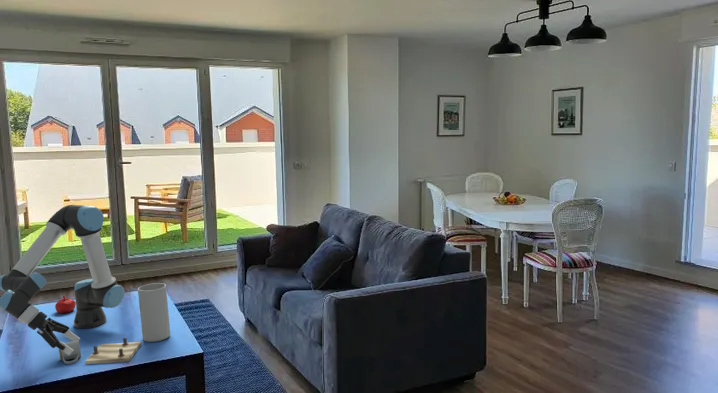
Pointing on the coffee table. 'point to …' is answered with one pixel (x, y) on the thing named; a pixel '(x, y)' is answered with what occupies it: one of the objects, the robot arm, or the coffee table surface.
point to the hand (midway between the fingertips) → (74, 346)
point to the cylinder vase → (154, 312)
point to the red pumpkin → (65, 305)
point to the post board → (113, 352)
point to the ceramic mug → (74, 354)
